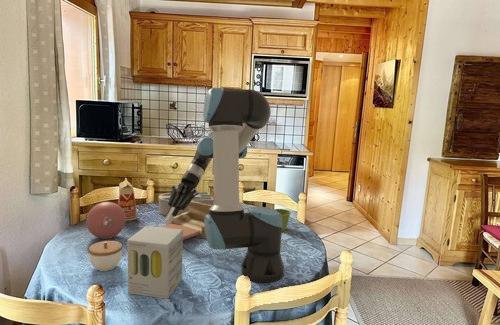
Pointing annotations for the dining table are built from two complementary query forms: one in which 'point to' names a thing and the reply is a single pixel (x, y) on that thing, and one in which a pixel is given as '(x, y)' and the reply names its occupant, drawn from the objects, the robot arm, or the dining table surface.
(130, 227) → the dining table surface
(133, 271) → the supplement box
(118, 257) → the lidded jar
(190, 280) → the dining table surface
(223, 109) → the robot arm
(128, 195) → the milk carton
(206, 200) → the grey compartment organizer
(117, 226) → the balloon
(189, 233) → the panel
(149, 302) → the dining table surface
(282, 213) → the plant pot
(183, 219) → the tray
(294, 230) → the dining table surface
